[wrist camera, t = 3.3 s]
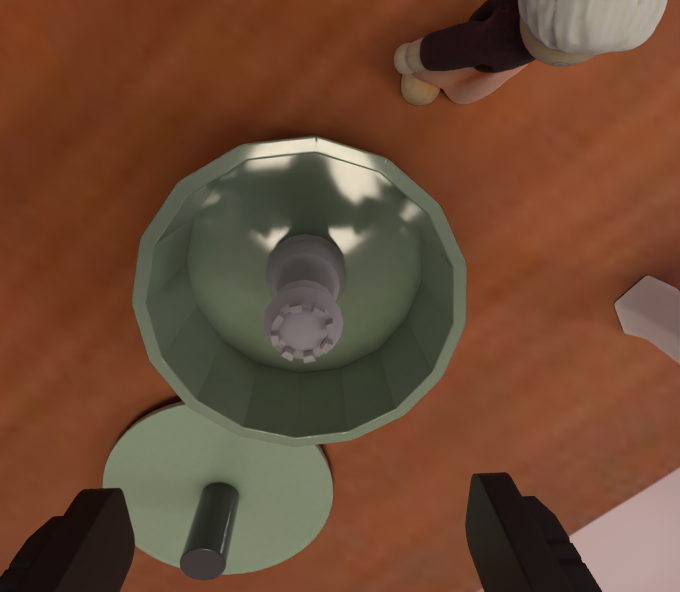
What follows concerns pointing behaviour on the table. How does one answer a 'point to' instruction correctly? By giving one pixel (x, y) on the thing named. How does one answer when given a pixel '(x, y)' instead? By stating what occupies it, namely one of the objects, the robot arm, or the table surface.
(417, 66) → the grandmother figurine
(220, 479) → the pot lid
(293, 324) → the rook chess piece
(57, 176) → the table surface
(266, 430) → the pot
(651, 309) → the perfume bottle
